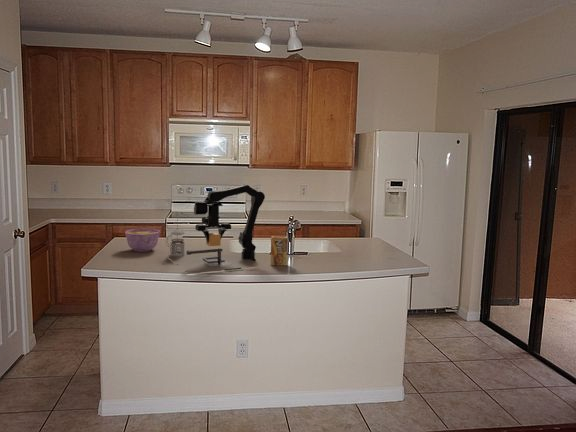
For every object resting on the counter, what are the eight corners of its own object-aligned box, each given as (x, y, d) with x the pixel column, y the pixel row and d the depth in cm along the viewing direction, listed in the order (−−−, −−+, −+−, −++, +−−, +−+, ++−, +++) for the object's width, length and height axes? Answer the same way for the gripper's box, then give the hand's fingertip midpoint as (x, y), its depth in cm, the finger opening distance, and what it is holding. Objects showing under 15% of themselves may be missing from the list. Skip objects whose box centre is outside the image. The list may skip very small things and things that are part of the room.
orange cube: (216, 243, 275) (216, 232, 274) (220, 245, 270) (220, 234, 269) (206, 244, 272) (206, 233, 272) (209, 246, 267) (209, 235, 266)
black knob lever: (221, 262, 266) (221, 248, 265) (222, 263, 264) (222, 248, 263) (186, 266, 258) (185, 250, 256) (187, 267, 255) (187, 251, 254)
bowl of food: (119, 249, 297) (119, 230, 296) (150, 245, 311) (150, 227, 309) (134, 255, 283) (133, 235, 281) (166, 251, 296) (166, 232, 294)
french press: (182, 259, 278) (181, 214, 274) (162, 257, 280) (162, 213, 277) (189, 255, 288) (188, 212, 284) (170, 253, 290) (169, 211, 286)
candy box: (286, 263, 274) (287, 236, 271) (286, 265, 269) (287, 237, 267) (270, 263, 274) (271, 236, 271) (270, 265, 269) (271, 237, 267)
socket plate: (218, 258, 282) (218, 255, 282) (231, 266, 265) (231, 262, 265) (198, 259, 277) (198, 256, 277) (210, 268, 259) (210, 265, 259)
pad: (236, 266, 266) (236, 265, 266) (243, 269, 258) (243, 269, 258) (220, 267, 262) (220, 266, 261) (226, 271, 254) (226, 270, 254)
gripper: (224, 211, 280) (224, 238, 282) (192, 212, 271) (192, 240, 274) (231, 214, 270) (231, 242, 273) (198, 215, 262) (198, 244, 264)
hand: (213, 242), depth 271 cm, fingers closed on orange cube, 6 cm apart
